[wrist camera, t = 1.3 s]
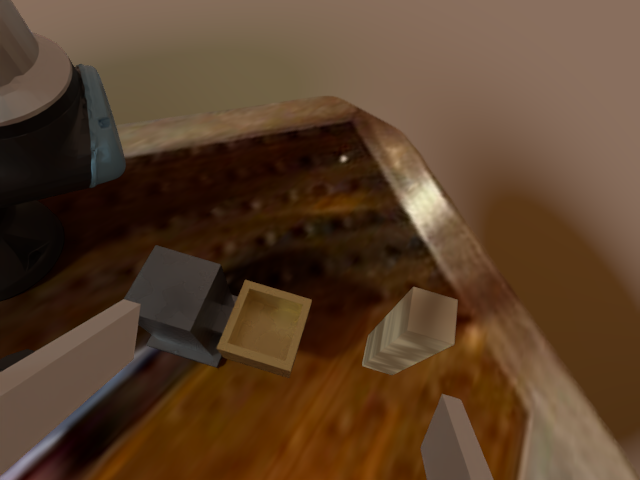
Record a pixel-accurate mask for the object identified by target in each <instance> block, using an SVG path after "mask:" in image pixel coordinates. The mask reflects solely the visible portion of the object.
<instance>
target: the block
mask: <svg viewBox="0 0 640 480" xmlns="http://www.w3.org/2000/svg"><path fill="white" fill-rule="evenodd" d="M457 304H458V300H457V299H453V298H450V297H446V296H443V295H440V294H436V293H433V292H430V291H426V290H423V289H419V288H416V287H413V288H412V289H411V290H410V291H409V292H408V293H407V294H406V295H405V297H404V298H403V299H402V300H401V301H400V302H399V303H398V304H397V305H396V306H395V307H394V308H393V309H392V310H391V312H390V313H389V314H388V315H387V316H386V317H385V318H384V319H383V320H382V321H381V322H380V323H379V324H378V325H377V327H376V328H375V329H374V330H373V331H372V332H371V333H370V334H369V335H368V338H367V343H366V348H365V353H364V358H363V363H362V366H364V367H367V368H371V369H374V370H377V371H380V372H384V373H387V374H390V375H393V374H395V373H398V372H400V371H402V370H404V369H406V368H408V367H410V366H412V365H414V364H416V363H418V362H420V361H422V360H424V359H426V358H428V357H430V356H432V355H434V354H436V353H438V352H440V351H442V350H444V349H446V348H448V347H450V346H452V345H454V342H455V329H456V317H457Z"/></svg>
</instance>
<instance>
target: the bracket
mask: <svg viewBox="0 0 640 480" xmlns="http://www.w3.org/2000/svg"><path fill="white" fill-rule="evenodd" d="M124 299H125V300H128V301H131V302H135V303H138V304H141V305H140V313H139V320H138V324H139V325H140V326H141V327H142V328H144V329H145V330H146V331H148V332H149V333H150V334H152V335H151V337H150V339H149V341H148V343H147V346H149V347H152V348H155V349H158V350H162V351H165V352H168V353H171V354H174V355H178V356H181V357H184V358H187V359H190V360H193V361H197V362H200V363H203V364H206V365H209V366H213V367H216V368H218V366H219V364H220V361H221V359H222V356H223V358H226V359H229V360H232V361H235V362H239V363H242V364H245V365H248V366H252V367H255V368H258V369H261V370H264V371H268V372H271V373H274V374H277V375H280V376H284V377H287V378H290V374H291V371H292V368H293V364H294V361H295V358H296V354H297V351H298V348H299V344H300V341H301V338H302V334H303V331H304V328H305V324H306V321H307V318H308V314H309V311H310V307H311V303H312V300H311V299H308V298H305V297H301V296H298V295H295V294H291V293H288V292H285V291H281V290H278V289H275V288H271V287H268V286H265V285H261V284H258V283H255V282H251V281H248V280H245V281H244V284H243V286H242V289H241V291H240V293H239V296H234V295H231V292H230V289H229V286H228V284H227V281H226V278H225V275H224V272H223V269H222V266H221V265H220V264H217V263H213V262H210V261H207V260H203V259H200V258H197V257H193V256H190V255H187V254H183V253H180V252H177V251H173V250H170V249H167V248H163V247H160V246H157V245H156V246H155V247H154V249H153V251H152V252H151V254H150V256H149V258H148V259H147V261H146V263H145V264H144V266H143V268H142V269H141V271H140V273H139V274H138V276H137V278H136V280H135V281H134V283H133V285H132V286H131V288H130V290H129V291H128V293H127V295H126V297H125V298H124Z"/></svg>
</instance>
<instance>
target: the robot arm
mask: <svg viewBox="0 0 640 480" xmlns="http://www.w3.org/2000/svg"><path fill="white" fill-rule="evenodd" d="M125 166H126V163H125V158H124V154H123V150H122V146H121V142H120V138H119V135H118V131H117V128H116V125H115V121H114V118H113V115H112V111H111V109H110V105H109V102H108V99H107V96H106V93H105V90H104V87H103V84H102V82H101V79H100V76H99V74H98V72H97V70H96V69H95V68H94V67H92V66H84V65H82V64H79V65H76V67H74V66H73V64H72V62H71V61H70V59H69V57H68V56H67V54H66V53H65V51H64V50H63V49H62V48H61V47H60V46H59V45H58V44H57V43H55V42H54V41H52V40H50V39H48V38H46V37H44V36H41V35H38V34H35V33H32V32H31V31H30V29H29V28H28V26H27V24H26V23H25V21H24V20H23V18H22V17H21V15H20V13H19V12H18V10H17V9H16V7H15V6H14V4H13V2H12V1H11V0H0V301H1V300H4V299H7V298H10V297H12V296H15V295H17V294H19V293H21V292H23V291H25V290H26V289H28V288H30V287H31V286H33V285H34V284H35V283H37V282H38V281H39V280H40V279H42V278H43V277H44V276H45V275H46V274H47V273H48V272H49V270H50V269H51V268H52V267H53V265H54V264H55V263H56V261H57V259H58V257H59V255H60V253H61V251H62V248H63V243H64V231H63V227H62V224H61V222H60V221H59V219H58V218H57V217H56V215H55V214H54V213H52V212H51V211H50V210H49V209H48V208H47V207H46V206H45V205H43V204H42V203H40V202H39V201H37V200H39V199H43V198H47V197H52V196H56V195H60V194H65V193H69V192H73V191H78V190H82V189H86V188H93V187H95V186H96V185H98V184H101V183H104V182H108V181H111V180H114V179H117V178H119V177H120V176H121V175H122V174H123V173H124V171H125ZM140 305H141V304H138V303H135V302H131V301H128V300H125V299H124V300H122V301H120V302H118V303H117V304H115V305H113V306H112V307H110V308H108V309H107V310H105V311H103V312H102V313H100V314H98V315H96V316H95V317H93V318H91V319H90V320H88V321H86V322H85V323H83V324H81V325H80V326H78V327H76V328H74V329H73V330H71V331H69V332H68V333H66V334H64V335H63V336H61V337H59V338H58V339H56V340H54V341H52V342H51V343H49V344H47V345H46V346H44V347H42V348H41V349H39V350H37V351H36V352H35V351H32V350H29V349H26V350H23V351H20V352H17V353H14V354H11V355H8V356H6V357H4V358H2V359H0V476H1V475H2V474H3V473H4V472H5V471H6V470H8V469H9V468H10V467H11V466H12V465H13V464H14V463H16V462H17V461H18V460H19V459H20V458H21V457H22V456H23V455H25V454H26V453H27V452H28V451H29V450H30V449H31V448H33V447H34V446H35V445H36V444H37V443H38V442H39V441H41V440H42V439H43V438H44V437H45V436H46V435H47V434H49V433H50V432H51V431H52V430H53V429H54V428H55V427H57V426H58V425H59V424H60V423H61V422H62V421H63V420H65V419H66V418H67V417H68V416H69V415H70V414H71V413H73V412H74V411H75V410H76V409H77V408H78V407H79V406H81V405H82V404H83V403H84V402H85V401H86V400H87V399H89V398H90V397H91V396H92V395H93V394H94V393H95V392H96V391H98V390H99V389H100V388H101V387H102V386H103V385H104V384H106V383H107V382H108V381H109V380H110V379H111V378H112V377H114V376H115V375H116V374H117V373H118V372H119V371H120V370H122V369H123V368H124V367H125V366H126V365H127V364H128V363H130V362H131V361H132V360H133V358H134V351H135V343H136V336H137V328H138V320H139V313H140ZM421 452H422V457H423V462H424V467H425V472H426V477H427V480H493V477H492V475H491V473H490V470H489V468H488V465H487V463H486V460H485V458H484V455H483V453H482V450H481V448H480V446H479V443H478V441H477V438H476V436H475V433H474V431H473V428H472V426H471V423H470V421H469V419H468V416H467V414H466V411H465V409H464V406H463V404H462V401H461V399H457V398H454V397H451V396H447V395H444V394H442V396H441V398H440V401H439V403H438V406H437V408H436V411H435V413H434V416H433V418H432V420H431V423H430V425H429V428H428V430H427V433H426V435H425V438H424V440H423V443H422V445H421Z"/></svg>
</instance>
